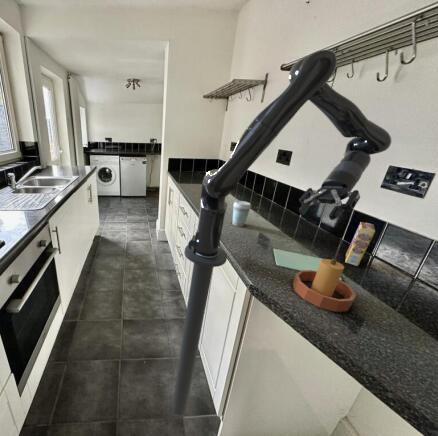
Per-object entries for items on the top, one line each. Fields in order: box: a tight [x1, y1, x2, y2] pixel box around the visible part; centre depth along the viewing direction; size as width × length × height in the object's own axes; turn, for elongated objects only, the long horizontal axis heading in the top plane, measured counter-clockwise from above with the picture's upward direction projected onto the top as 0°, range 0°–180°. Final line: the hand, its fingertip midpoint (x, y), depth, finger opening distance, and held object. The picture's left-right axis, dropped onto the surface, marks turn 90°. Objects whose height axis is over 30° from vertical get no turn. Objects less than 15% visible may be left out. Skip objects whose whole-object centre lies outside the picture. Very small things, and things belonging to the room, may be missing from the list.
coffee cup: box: [231, 200, 252, 227], centre depth 120 cm, size 8×9×12 cm
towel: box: [272, 248, 343, 281], centre depth 88 cm, size 20×14×1 cm
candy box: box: [344, 221, 376, 267], centre depth 90 cm, size 9×4×15 cm, turn 140°
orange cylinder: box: [310, 258, 345, 298], centre depth 69 cm, size 5×5×12 cm
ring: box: [292, 270, 357, 313], centre depth 71 cm, size 15×15×4 cm
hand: (315, 215), depth 70 cm, fingers open, 8 cm apart
